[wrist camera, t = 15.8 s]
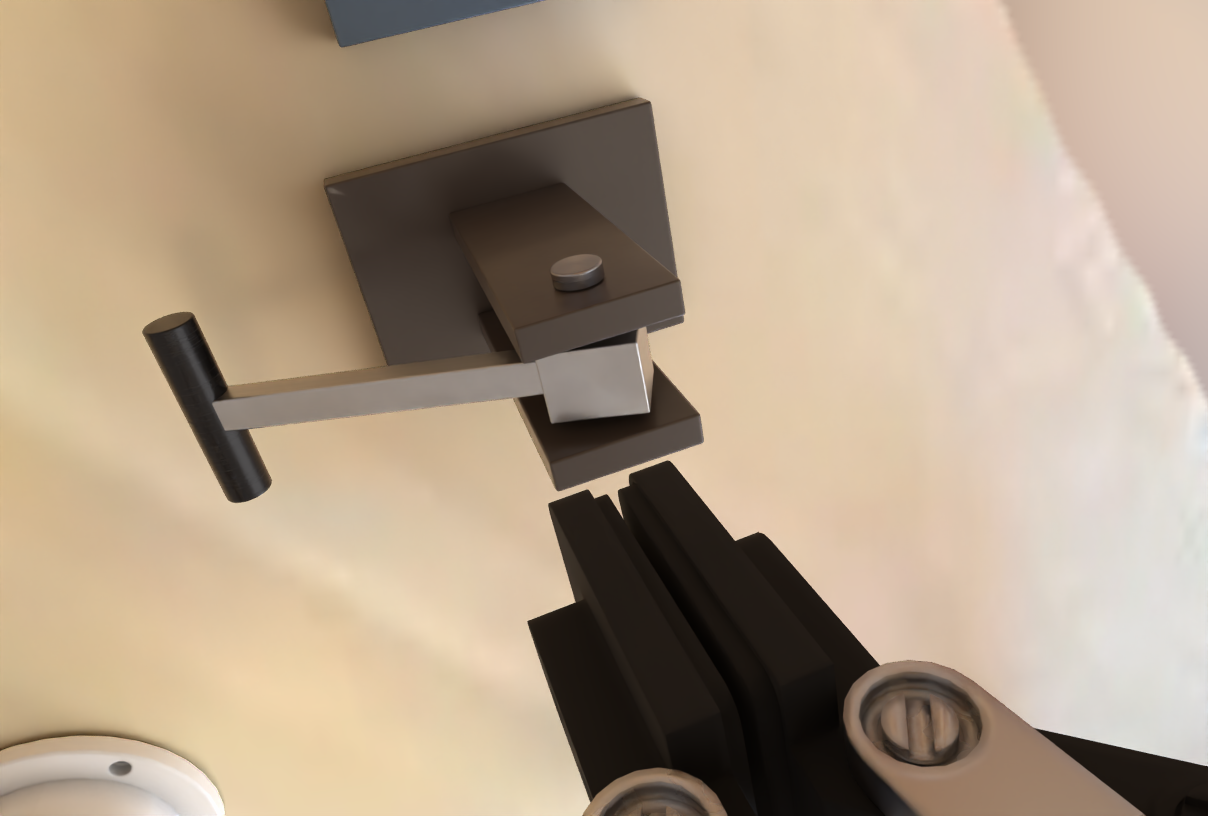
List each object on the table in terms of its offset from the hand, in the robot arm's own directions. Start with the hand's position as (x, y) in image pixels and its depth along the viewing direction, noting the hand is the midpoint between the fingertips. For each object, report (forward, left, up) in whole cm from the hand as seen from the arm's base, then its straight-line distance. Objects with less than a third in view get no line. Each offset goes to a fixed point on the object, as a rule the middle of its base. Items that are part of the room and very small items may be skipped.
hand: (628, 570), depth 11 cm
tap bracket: (+3, -3, -23) cm, 24 cm away
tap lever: (-1, -4, -16) cm, 16 cm away
